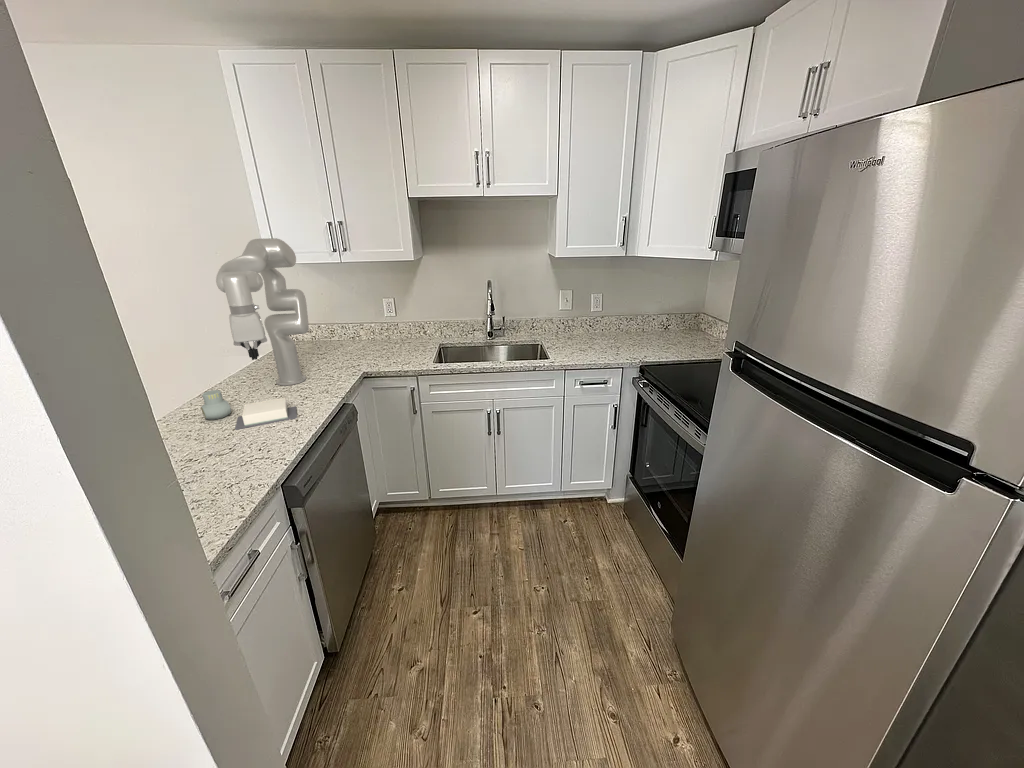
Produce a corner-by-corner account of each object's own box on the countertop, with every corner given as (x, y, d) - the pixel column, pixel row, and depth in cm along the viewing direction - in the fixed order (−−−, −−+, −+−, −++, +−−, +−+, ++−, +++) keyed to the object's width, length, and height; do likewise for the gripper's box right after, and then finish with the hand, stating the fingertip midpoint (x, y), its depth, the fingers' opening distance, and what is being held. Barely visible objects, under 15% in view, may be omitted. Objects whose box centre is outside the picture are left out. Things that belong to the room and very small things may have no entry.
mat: (238, 418, 161) (237, 416, 161) (296, 407, 169) (295, 406, 169) (235, 430, 151) (235, 428, 151) (297, 418, 160) (296, 416, 160)
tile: (244, 404, 162) (242, 415, 152) (285, 397, 168) (285, 408, 157) (247, 413, 163) (244, 425, 153) (287, 406, 169) (287, 417, 159)
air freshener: (202, 415, 164) (195, 391, 160) (227, 409, 169) (220, 386, 165) (208, 424, 156) (201, 399, 153) (234, 417, 162) (227, 393, 158)
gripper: (266, 306, 157) (277, 353, 163) (219, 310, 150) (232, 359, 157) (266, 309, 150) (277, 358, 157) (216, 314, 144) (230, 364, 151)
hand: (254, 358), depth 157 cm, fingers closed
